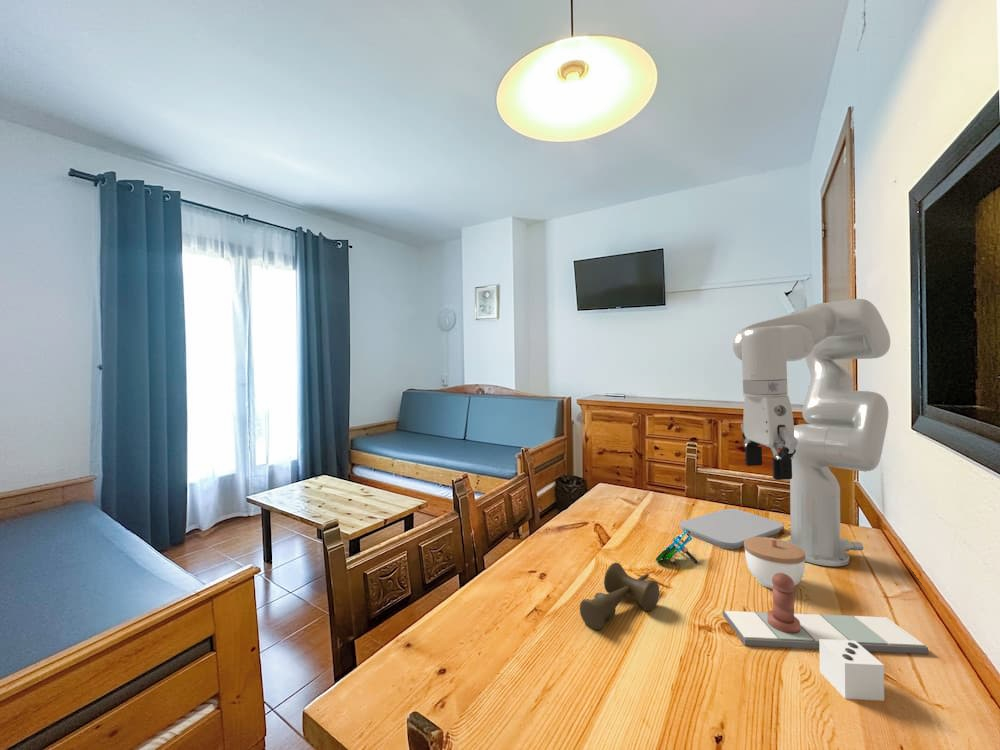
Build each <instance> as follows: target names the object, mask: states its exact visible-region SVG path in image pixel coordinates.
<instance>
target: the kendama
mask: <svg viewBox="0 0 1000 750" xmlns="http://www.w3.org/2000/svg"><path fill="white" fill-rule="evenodd" d="M605 571H606V572H605V574H604V580H603V584H604V589H605V591H606V593H603V592H596V593H595V595H594V597H593V598H592V599H589V598H586V599H585V598H584V599H582V600H581V601H580V603H579V614H580V617H581V619H582V621H583V623H584V624H585V625H586V626H588V628H590V629H592V630H593V631H601V630H602V629H603V628H604V625H605V623H604V622H605V620H606V619H613V618H614V617H615V616H616V609H617V606H618V605H620V603H621V602H622V601H623V600H624V598H626V597H627V596H628V595H629V596H630V597H632V598H634V599H635V600H636V601H637V602H638V604H639V605H640V607H641V608H642V609H643V610H644V611H646V612H651V611H652V610H654V609H655V607H656V606H657V604H658V602H659V598H660V585H659V583H658V582H657V581H656V580H653V579H651V580H650V579H648V578H649V577H650V574H649V573H645V574H643V575H642V576H640V577H638V578H634V577H632V576H630V575H628V573H627V572H626V570H624V568H623V566H622V565H621V564H620V563H618V562H613V563H611V564H610V565H609V566H608V567H607V569H606V570H605Z"/></svg>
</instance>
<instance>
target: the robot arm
mask: <svg viewBox="0 0 1000 750" xmlns="http://www.w3.org/2000/svg"><path fill="white" fill-rule="evenodd" d="M890 347H891V335H890V332H889V330H888V327H887V325H886V323H885V321H884V319H883V317H882V315H881V314H880V311H879V310H878V308H877V307H876V306H875V305H874V303H872V302H870V301H869V300H867V299H865V298H853V299H846V300H836V301H828V302H820V303H816V304H812V305H809V306H807V307H806V308H803V309H801V310H800V311H797V312H795V313H791V314H786V315H783V316H779V317H776V318H772V319H768V320H765V321H764V320H762V321H760V322H756V323H753V324H750V325H748V326H746V327H743V328H742V329H740V330H738V332H737V334H735V336H734V338H733V342H732V349H733V350H732V351H733V353H734V355H735V356H736V358H737V359H739V360H740V361H741V364H742V365H741V367H742V368H741V369H742V371H741V373H742V393H743V394H742V395H743V396H744V400H743V419H742V420H743V422H742V423H741V424H740V429H741V432H742V434H741V437H742V439H743V440H744V441H743V446H744V454H745V457H744V458H745V459H744V460H745V465H746V466H748V467H751V466H752V467H753V466H754V467H757V466H762V465H763V447H762V446H764V447H767V448H770V450H771V452H772V454H773V456H774V458H772V478H773V479H774V480H777V481H778V480H779V481H781V480H789V486H790V487H789V491H790V492H789V493H790V494H789V495H790V496H789V498H790V499H789V502H790V503H789V505H790V509H789V510H790V511H789V513H790V517H789V518H790V539H787V540H785V541H786V542H789V543H792V544H794V545H796V546H798V547H800V548H801V549H802V550H803V551H804V552H805V562H806V563H810V564H813V565H819V566H824V567H843V566H847V565H849V563H850V556H849V555H848V553H847V552H849V551H863V550H864V545H863V544H862V542H860V541H849V540H848V538H841V488H840V487H841V486H840V483H839V482H838V479H837V478H836V477H837V476H835V475H834V473H833V472H832V471H831V470H830V468H837V469H843V470H850V471H857V472H859V471H860V472H871V471H874V470H875V469H876V468H877V467H878V465H879V464H880V461H881V459H882V453H883V447H884V443H885V438H886V432H887V429H888V424H889V422H888V421H889V406H888V402H887V400H886V398H885V397H884V396H883V395H882V394H880V393H878V392H874V391H869V390H853V386H854V380H853V379H854V378H853V376H852V375H851V374H850V373H849V372H848V371H847V370H846V369H845V368H844V367H842V365H840V364H838V363H836V361H834V360H863V359H864V360H865V359H867V360H868V359H878V358H882V357H884V356H886V354H888V352H889V350H890ZM803 359H805V361H806V365H807V367H808V370H809V373H810V382H809V385H808V388H807V391H806V396H805V398H804V401H803V406H802V412H801V413H802V418H803V420H804V421H805V422H806V423H802V424H796V425H794V414H793V409H792V408H793V407H792V405H791V399H790V397H789V396H788V391H789V390H788V369H787V368H788V367H787V365H788V364H787V362H796V361H801V360H803ZM760 445H761V446H760ZM779 449H781V450H779Z"/></svg>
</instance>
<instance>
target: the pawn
mask: <svg viewBox="0 0 1000 750" xmlns="http://www.w3.org/2000/svg"><path fill="white" fill-rule="evenodd" d="M772 584H773V589H772V610H769V611H767V612H768V614H767V616H768V623H769V625H770V626H772V627H773V628H775V629H776V630H779V631H781V632H784V633H789V634H796V633H799V632H800V621H799V620H798V619H797V618H796V617H795V616H794V613H795V591H794V590H795V586H794V582H793V580H792V579H791V577H789V576H788V575H786V574H784V573H777V574H775V575H774V576H773V578H772Z"/></svg>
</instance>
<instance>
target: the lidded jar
mask: <svg viewBox="0 0 1000 750" xmlns="http://www.w3.org/2000/svg"><path fill="white" fill-rule="evenodd" d="M786 541H787V540H782V539H779V538H773V537H770V536H769V537H751V538H748V539H746V540H745V541H744V546H743V547H744V556H745V557H744V558H745V562H746V565H747V567H748V568H747V569H748V570H749V572H750V573H751V575H752V576H753V577H754V578H755V579H756V580H757V582H758V583H759V584H760V585H761V586H763V587H764V588H766V589H767V588H768V589H771V590H773V584H772V578H773V576H774V575H775V574H777V573H784V574H786V575H788V576H789V577H791V579H792V580H793V582H794V586H797V585H798V584H799V583H800V582H801V581H802V579H803V577H804V573H805V568H806V566H805V565H806V563H805V562H806V561H805V552H804V551H803V550H802V549H801V548H800V547H798V546H796V545H794V544H792V543H789V542H786Z"/></svg>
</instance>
